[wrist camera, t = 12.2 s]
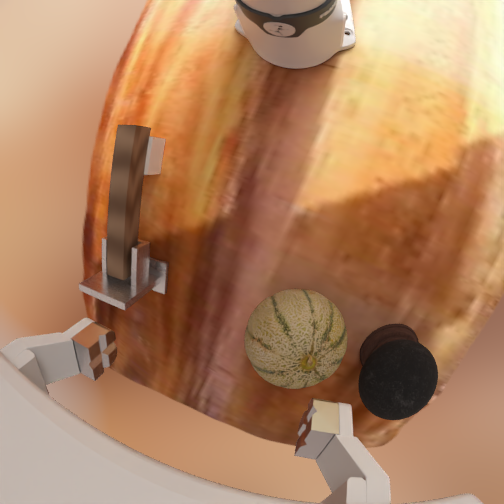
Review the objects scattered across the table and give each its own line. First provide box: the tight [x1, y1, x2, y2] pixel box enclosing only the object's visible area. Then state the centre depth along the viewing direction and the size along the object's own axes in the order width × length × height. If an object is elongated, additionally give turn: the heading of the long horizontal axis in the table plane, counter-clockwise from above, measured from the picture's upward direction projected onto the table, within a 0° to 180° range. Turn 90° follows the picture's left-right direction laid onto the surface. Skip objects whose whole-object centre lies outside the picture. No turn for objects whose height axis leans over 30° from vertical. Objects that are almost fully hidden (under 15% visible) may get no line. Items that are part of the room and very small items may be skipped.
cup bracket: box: [79, 237, 169, 310], centre depth 44 cm, size 10×12×12 cm
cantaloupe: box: [244, 289, 347, 389], centre depth 39 cm, size 15×15×15 cm
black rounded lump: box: [359, 324, 438, 420], centre depth 37 cm, size 13×13×15 cm
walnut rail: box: [107, 125, 151, 280], centre depth 40 cm, size 24×4×4 cm, turn 169°
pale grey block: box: [144, 137, 166, 175], centre depth 41 cm, size 6×5×4 cm
